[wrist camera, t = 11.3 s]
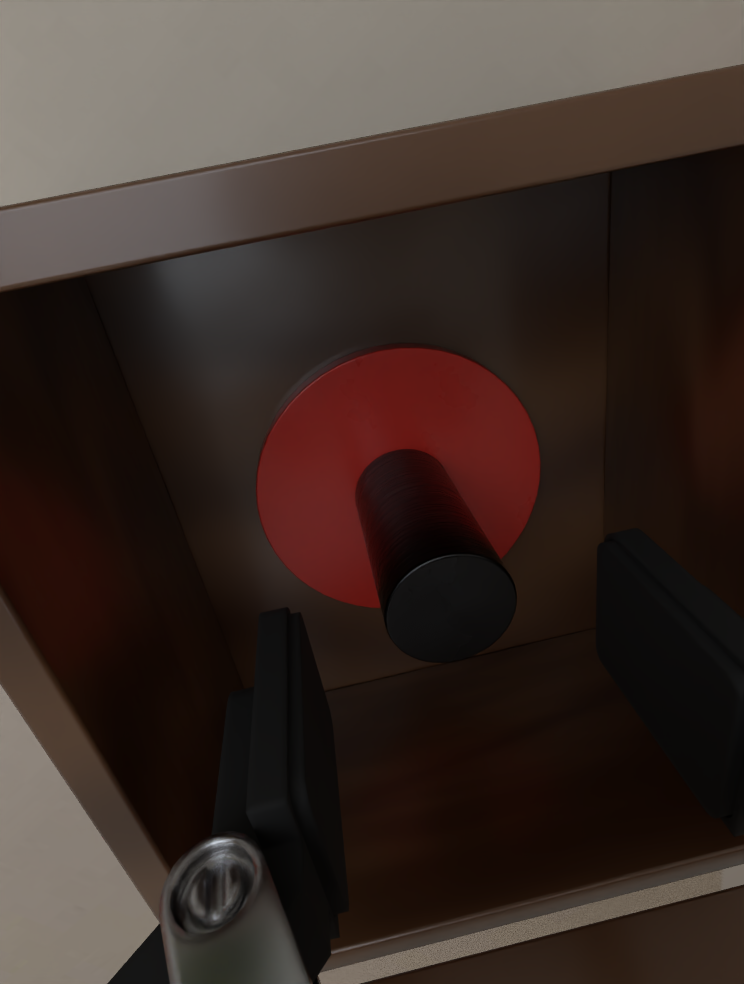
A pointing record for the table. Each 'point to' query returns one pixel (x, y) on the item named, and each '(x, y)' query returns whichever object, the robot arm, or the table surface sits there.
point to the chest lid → (615, 950)
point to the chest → (342, 626)
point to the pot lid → (404, 493)
